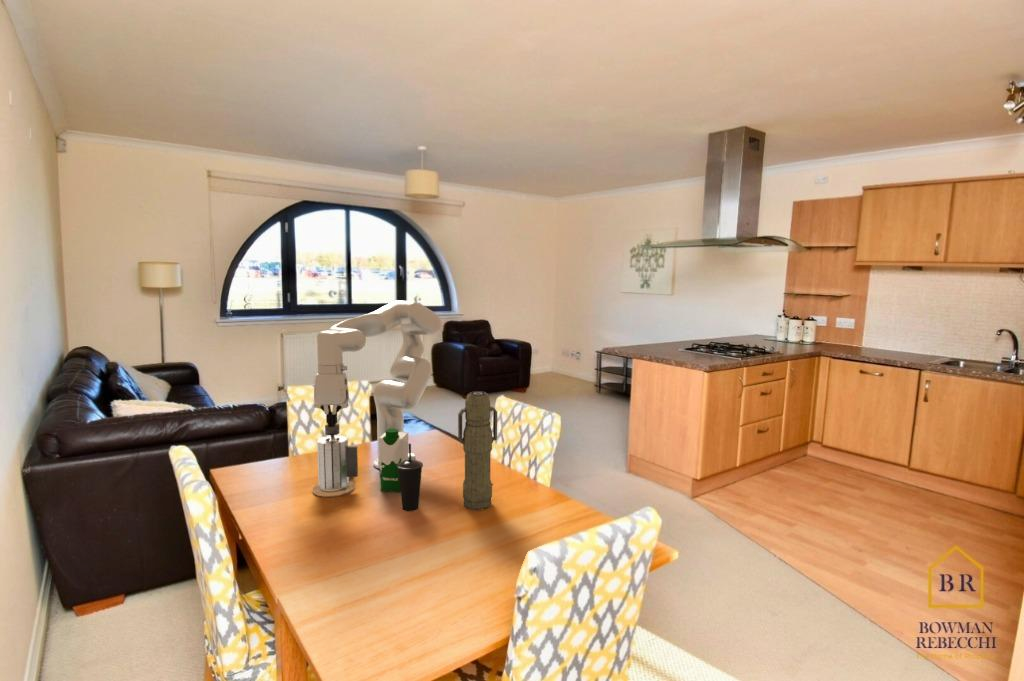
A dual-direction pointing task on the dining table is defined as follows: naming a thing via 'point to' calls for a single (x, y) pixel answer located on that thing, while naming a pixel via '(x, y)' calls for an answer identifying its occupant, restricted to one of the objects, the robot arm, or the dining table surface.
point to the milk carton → (392, 458)
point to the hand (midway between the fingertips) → (332, 425)
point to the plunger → (332, 431)
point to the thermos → (477, 449)
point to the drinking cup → (410, 482)
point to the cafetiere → (335, 466)
